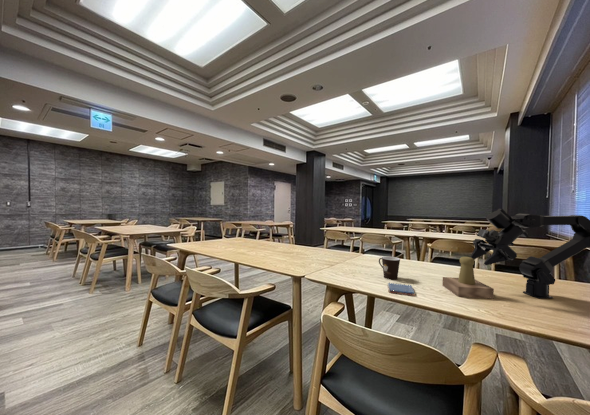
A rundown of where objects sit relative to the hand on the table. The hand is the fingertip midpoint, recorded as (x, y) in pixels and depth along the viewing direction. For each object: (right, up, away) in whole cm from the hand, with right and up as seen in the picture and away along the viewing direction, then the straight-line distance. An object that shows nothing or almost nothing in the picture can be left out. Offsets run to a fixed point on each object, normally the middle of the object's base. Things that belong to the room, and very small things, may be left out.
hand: (477, 261), depth 100 cm
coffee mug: (-30, -13, +20) cm, 38 cm away
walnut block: (-4, -13, +1) cm, 14 cm away
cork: (-4, -9, +1) cm, 10 cm away
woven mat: (-32, -13, +1) cm, 35 cm away
